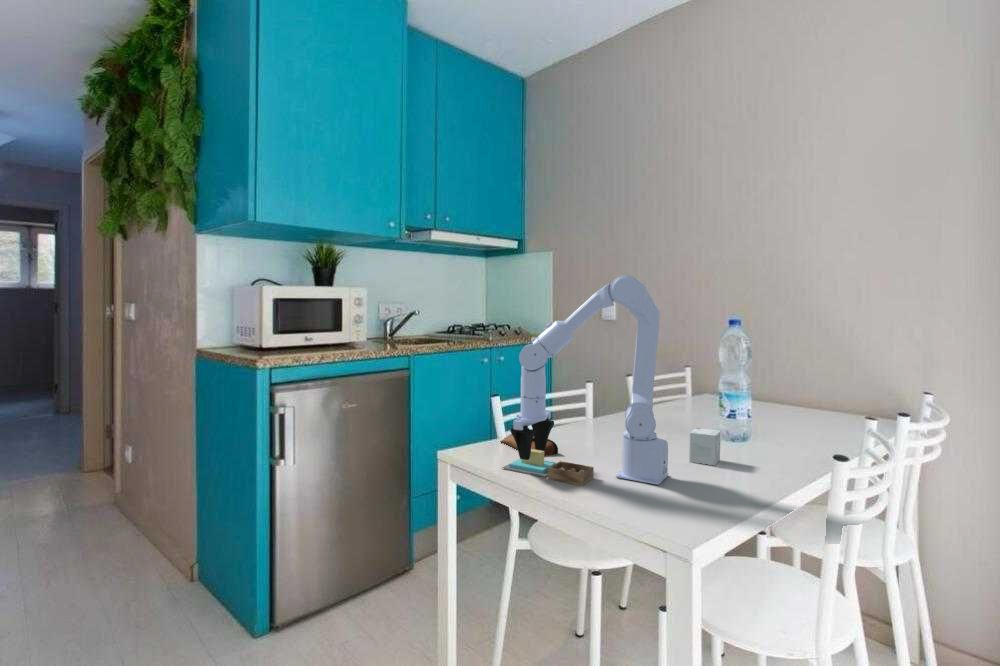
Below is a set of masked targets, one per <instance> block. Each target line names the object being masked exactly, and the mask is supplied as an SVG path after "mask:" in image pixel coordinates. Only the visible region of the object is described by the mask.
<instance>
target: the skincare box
mask: <svg viewBox="0 0 1000 666" xmlns="http://www.w3.org/2000/svg"><path fill="white" fill-rule="evenodd" d="M688 448H689V450H688V451H689V452H688V454H689V455H688V462H689V463H693V462H695V463H694V464H699V463H702V464H701V465H705V464H708V465H707V466H712V465H714V467H715V466H716V465H717V464H718V462H719V460H721V430H717V429H709V428H702V427H701V428H699V427H695V428H694V429H692V430H691V431H690V432H689V447H688ZM716 463H717V464H716Z"/></svg>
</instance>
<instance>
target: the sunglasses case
mask: <svg viewBox="0 0 1000 666" xmlns="http://www.w3.org/2000/svg"><path fill="white" fill-rule="evenodd" d="M499 441H500V442H501V443H500V444H502V443H504V444H503V445H505V444H506V445H505V446H507V445H508V446H507V447H509V446H510V448H511V447H512V448H511V449H513V448H514V449H513V450H515V449H516V450H515V451H517V450H518V448H517V444H516V442H515V439H514V437H513V435H512V433H511V434H509V435H508V436H506V437H504V438H503V439H501V440H499ZM531 449H535V442H534V437H533V440H532V445H531ZM535 450H536V449H535ZM558 453H559V447H558V445H557V444H556V442H554V441H553V440H551V439H549V438H548V440H547V444H546V448H545V451H544V457H547V456H546V455H548V456H554V454H555V455H556V454H557V455H558Z"/></svg>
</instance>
